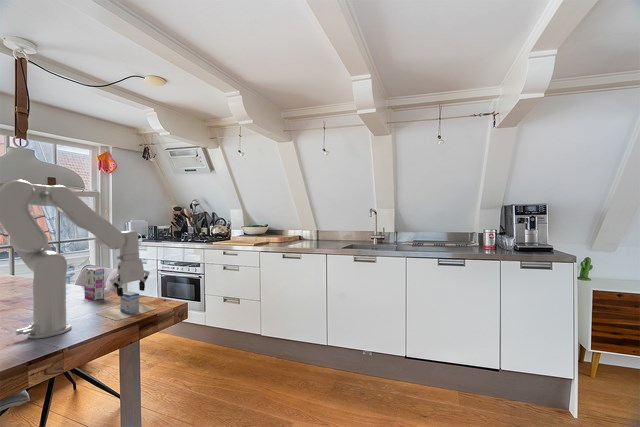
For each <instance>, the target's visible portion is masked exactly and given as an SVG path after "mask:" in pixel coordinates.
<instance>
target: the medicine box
mask: <svg viewBox="0 0 640 427" xmlns="http://www.w3.org/2000/svg"><path fill="white" fill-rule="evenodd" d="M119 297H120V296H119ZM119 300H120V302H119V304H120V305H119V306H120V307H119V308H120V311H121V312H124V313H128V314H132V313H136V312H139V304H140V293H138V292H133V291H125V292H124V291H123V296H122V297H120V298H119Z"/></svg>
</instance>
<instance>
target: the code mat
mask: <svg viewBox="0 0 640 427" xmlns="http://www.w3.org/2000/svg"><path fill="white" fill-rule="evenodd" d="M154 310H158V308H157V307H155V306H154V307H153V306H151V305H150V306H149V305H146V304H141V303H139V312H136V313H132V314H128V313H124V312H121V311H120V307H115V308H112V309H109V310H105V311H101V312H97V313H96V315H98V316H101V317H104V318H106V319H110V320H112V319H113V321H115V320H116V322H118V321H122V320H124V319H128V318H131V317H134V316H138V315H142V314H145V313H149V312H151V311H154Z"/></svg>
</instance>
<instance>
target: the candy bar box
mask: <svg viewBox="0 0 640 427" xmlns="http://www.w3.org/2000/svg"><path fill="white" fill-rule="evenodd" d="M104 272H105V271H104V268H100V267H95V266H94V267H86V268H84V277H83V278H84V299H86V300H90V301H95V302H96V301H98V300H99V301H100V300H104V299H105V293H104V292H105V288H104V287H105V278H104V277H105V274H104Z"/></svg>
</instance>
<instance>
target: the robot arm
mask: <svg viewBox="0 0 640 427" xmlns="http://www.w3.org/2000/svg"><path fill="white" fill-rule="evenodd" d="M29 206H37V207H38V206H39V207H41V206H42V207H53V208H55V210H56V211H58V212H59V213H60V214H62V215H63V217H65V218H66V219H67V220H69V221H70V222H71V223H72V224H73V225H75V226H77V227H78V228H81V229H83V230H84V231H85V230H86V231H87V232H88V233H91V235H93V236H95V237H96V243H97V244H98V246H99V247H101V248H103V249H107V250H115V251H116V250H119V256H117V257H116V260H118V264H117V274H116V275H114V277H112V278H110V279H109V282H110V284H112V287H114V288H116V295H117V296H118V297H122V296H123V293H124V288H123V286H124V284H129V283H132V282H137V281H139V282H138V288H139V289H138V290H139V291H141V292H145V288H146V281H147V279H148V278H149V275H150V273H151V272H150V271H148V270H145V269H144V263H143V260H142V258H140V246H139V233H138V231H137V230H124V231H123V230H122V231H120V230H119V229H118V228H116V226H115V225H114V224H112V223H111V222H110V221H108V220H107V219H106V218H104V217H103V216H101V215H100V214H99V213H97V212H96V211H94V210H93V209H92V208H91V207H90V206H89V205H88V204H87V203H86V202H85V201H83V200H82V199H81V198H80V197H79V196H78V195H77V194H76V193H74V192H73V191H72V190H71V189H70V188H69V187H67V186H65V185H61V184H58V185H57V184H55V185H44V184H43V185H42V184H36V183H34V184H33V183H30V181H27V180H23V179H14V180H10V181H8V182H5V183H4V184H2V185H1V186H0V224H1V226H2V227H3V229H4V230H5V231H6V233H7V234H8V235H9V243H10V246H11V247H12V249H13V250H14V251H15V252H16V254H17V255H18V257H19V258H20V259H21V260H22V261H23V262H22V263H24V265H26V267H27V268H28V269H29V270H30V271H31V272H33V280H32V306H33V307H32V311H33V312H32V313H33V314H32V315H33V321H32V322H31V323H30V325H29V326H27V327H24V328H19V329H16V330H15V335H16V336H20V335H27V338H30V339H34V340H35V339H44V338H49V337H55V336H58V335H62V334H64V333H66V332H68V331H70V330H71V329H72V324H71V323H67V291H66V290H67V287H66V286H67V284H66V283H67V274H68V273H67V271H68V261H67V259H66V257H65V256H64V255H63V254H61V253H60V252H57V251H54V250H53V249H52V247H51V246H50V245H49V243H48V242H49V237H48V235H47V234H46V232H45V231H44V230H43V229H42V228H41V226H40V225H39V223H38V222H37V220H36V219H35V218H34V216H33V215H32V213H31V211H30V209H29ZM116 280H117V282H116Z"/></svg>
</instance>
